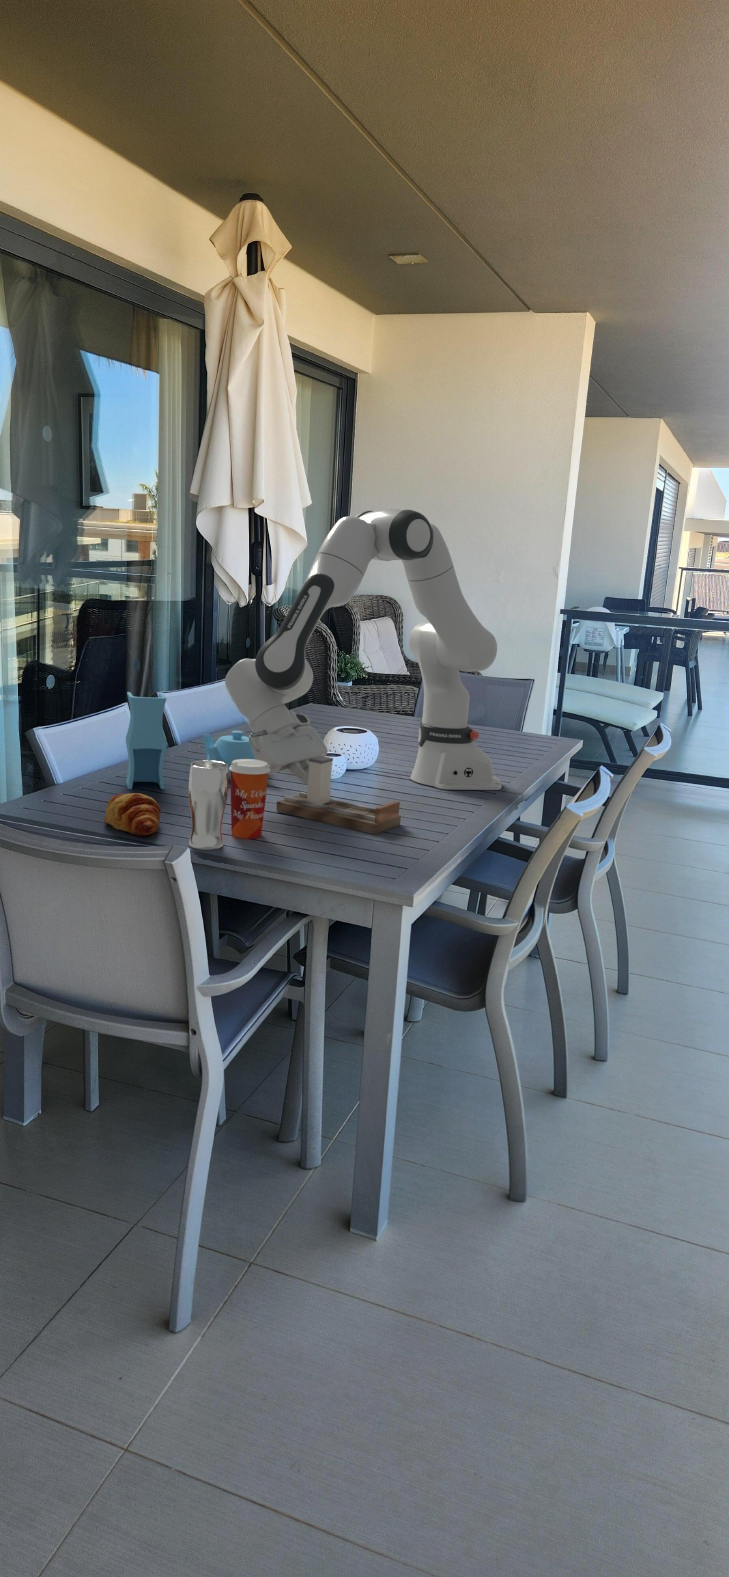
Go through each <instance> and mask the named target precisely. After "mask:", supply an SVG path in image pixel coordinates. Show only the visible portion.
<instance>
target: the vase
mask: <svg viewBox="0 0 729 1577" xmlns="http://www.w3.org/2000/svg"><path fill="white" fill-rule="evenodd" d="M126 695H127V699H128V704H129V725H128V729H127V732H126V735H125V744H126V750H127V757H128V760H127V761H128V763H127V765H128V766H127V773H126V774H127V775H126V780H125V784H126V787H127V789H128V790H132V789H133V785H134V782H135V783H137V782H145V783H146V782H147V783H148V782H149V783H151V782H152V783H157V784H158V787H159V789H161V790H165V789H166V788H165V781H164V761H165V756H166V751H167V742H166V738H165V735H164V733H165V732H164V728H163V717H164V710H165V706H166V702H167V696H166V695H165V694H164V692H159V694H158V697H147V696H145V697H143V696H141V697H140V696H134V695H133V694H132V693H131V692H130V691H127V693H126Z"/></svg>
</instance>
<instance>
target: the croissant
mask: <svg viewBox="0 0 729 1577" xmlns="http://www.w3.org/2000/svg"><path fill="white" fill-rule="evenodd" d="M161 809H162V808H161V807H160V805H159V803H158V802H157V801H156V799H154V798H153V797H151V796H148V795H146V794H142V793H137V792H136V793H121V794H117V795H113V796H111V798H110V799H109V801H108V802H107V805H106V808H105V815H104V822H105V823H106V824H108V825H110V826H112V827H113V828H114V829H116V830H118V831H122V832H128V833H129V834H132V835H136V836H147V835H151V834H152V835H153V834H154V833H156V832H157V830H158V828H159V826H160V825H159V824H160V821H161V811H162V810H161Z"/></svg>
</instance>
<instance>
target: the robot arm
mask: <svg viewBox="0 0 729 1577" xmlns="http://www.w3.org/2000/svg"><path fill="white" fill-rule="evenodd" d="M372 560H376V561H384V562H390V561H391V562H392V561H401V562H402V564H403V567H404V568H403V569H404V572H405V576H406V579H407V582H408V585H409V589H410V592H411V594H412V595H411V596H412V598H413V599H412V600H413V602H414V605H415V607H416V610H418V612H419V614H421V615H422V616H423V617H424V618H426V621H422V622H419V623H417V624H416V625H415V626H414V627H413V628H412V630H411V632H410V634H409V638H408V641H409V642H408V645H409V650H410V652H411V654H412V655H413V657H414V658H415V659H416V661H417V664H418V667H419V670H420V673H421V678H422V684H423V706H422V708H423V709H422V718H421V719H422V720H421V722H420V724H419V728H418V737H417V739H418V740H417V743H418V751H417V755H416V760H415V763H414V767H413V769H412V773H411V775H410V779H411V780H412V781H413V782H415V783H419V784H421V785H425V786H431V787H435V788H437V789H439V790H449V791H450V790H452V791H453V790H461V791H463V790H464V791H466V790H467V791H471V790H473V791H499V790H502V785H503V784H502V781H501V780H500V779H499V778H498V777H496V776H495V775H494V774H495V773H494V772H495V770H494V764H493V760H492V759H491V758H490V757H489V756H488V755H487V754H486V753H485V751H483V750H482V749H481V748H480V747H479V746H478V745H477V744H476V743H474V742H473V741H475V740H478V738H480V734H479V732H478V731H477V730H474V729H473V728H471V727H469V726H468V721H469V720H468V719H469V710H470V700H471V699H470V698H471V697H470V693H469V691H468V689H467V688H466V687H465V685H464V683H463V682H462V679H461V678H462V677H461V675H460V674H461V673H460V671H461V672H466V673H469V672H480V671H485V670H487V669H488V668H490V667H491V666H492V665H493V663H494V661H495V659H496V657H497V653H498V644H497V639H496V637H495V636H494V635H493V633H491V631H489V630H488V629H487V628H486V627H485V626H484V625H483V624H482V623H481V622H480V621H479V619H478V618H477V616H476V615H475V613H474V612H473V610H472V609H471V608H470V606H469V604H468V602H467V600H466V598H465V596H464V593H463V592H462V589H461V587H460V582H459V580H458V577H457V574H456V570H455V567H454V562H453V559H452V556H451V553H450V551H449V548H448V546H447V544H446V541H445V539H444V536H443V535H442V533H441V531H440V529H439V528H438V526H436V525H435V524H433V523H430V521H429V520H428V518H427V517H426V516H425V515H424V514H422V513H421V512H418V511H416V510H412V509H397V508H384V509H380V510H367V511H362V512H361V513H358V514H357V515H355V516H352V515H348V516H343V517H341V518H339V519H338V520H337V521H336V522H335V523H334V525H333V527H332V528H331V529H330V531H329V532H328V534H327V535H326V537H325V539H324V541H323V542H322V544H321V546H320V547H319V550H318V552H317V554H316V556H315V558H314V560H313V562H312V564H311V566H310V569H309V571H308V574H307V576H306V578H305V581H304V583H303V585H302V587H301V588H300V590H299V592H298V594H297V595H296V597H295V600H294V601H293V603H292V604H291V607H290V608H289V609H288V613H287V614H286V616H285V617H284V619H283V621H282V622H281V624H280V627H279V628H278V629H277V630H276V632H275V633H274V634H273V635H272V637H270V638H269V639H268V640H266V642H264V643H263V645H262V646H261V647H260V648H259V649H258V652H257V654H256V656H255V658H243V659H240V660H238V661H237V662H236V663H235V664H233V666H231V667H230V669H228V671H227V673H226V675H225V679H224V685H225V688H226V691H227V694H228V695H229V697H230V699H231V701H232V703H233V704H234V706H235V707H236V709H237V710H238V712H239V713H240V715H242V716H244V719H246V721H247V723H248V726H249V729H250V730H251V731H252V732H250V733H249V736H248V737H249V740H248V741H249V743H250V744H251V746H252V747H251V748H252V752H253V754H254V756H255V758H256V760H261V761H264V762H267V763H268V765H269V769H271V771H270V772H269V773H268V775H270V774H271V775H272V774H275V773H279V772H283V771H287V770H289V771H290V772H291V773H292V774H293V775H294V776H296V777H297V778H298V779H300V781H301V783H302V784H303V785H308V775H309V758H312V757H317V756H324V757H327V755H328V748H327V746H326V744H325V742H324V741H323V739H322V737H321V736H320V735H319V733H318V731H316V729H315V728H314V727H313V726H311V725H310V723H311V720H310V718H309V717H308V716H307V715H305V714H302V713H299V712H295V711H293V710H289V709H288V707H287V706H286V705H287V704H288V703H291V702H294V701H295V700H297V699H299V698H301V697H303V696H304V695H306V694H307V693H308V692H309V691H310V690H311V689H312V688H311V687H312V686H313V683H314V677H315V675H314V672H313V668H312V667H311V665H310V663H309V662H308V660H307V659H306V647H307V645H308V643H309V640H310V639H311V636H312V635H313V633H314V631H315V629H316V627H317V626H318V624H319V622H320V620H321V618H322V616H323V615H324V613H325V612H326V611H327V610H328V609H330V608H336V607H337V608H338V607H341V606H344V605H346V604H348V603H349V601H351V599H352V598H353V596H354V595H355V593H356V592H357V590H358V589H359V587H360V585H361V583H362V581H363V578H364V576H365V574H366V572H367V569H368V566H369V564H370V562H371V561H372Z"/></svg>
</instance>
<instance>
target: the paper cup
mask: <svg viewBox="0 0 729 1577" xmlns="http://www.w3.org/2000/svg"><path fill="white" fill-rule="evenodd" d="M229 770H230V771H231V781H230V813H231V814H230V819H231V820H230V822H231V825H230V826H231V828H230V829H231V835H232V837H234V838H236V839H243V840H255V839H258V838H260V837H261V836H262V830H263V824H264V816H265V808H266V799H267V797H266V796H267V791H268V790H267V789H268V782H269V781H268V779H269V774H268V773H269V772H270V771H271V769H269V765H268V763H267V762H264V761H261V760H254V759H238V760H234V761H232V763H231V766H230V767H229Z"/></svg>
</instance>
